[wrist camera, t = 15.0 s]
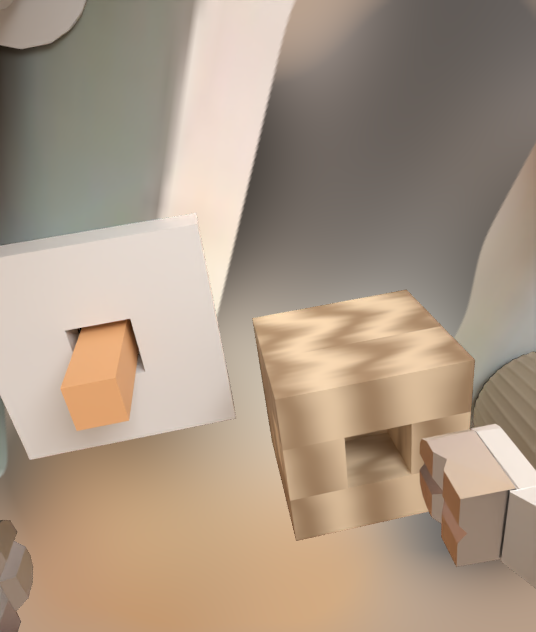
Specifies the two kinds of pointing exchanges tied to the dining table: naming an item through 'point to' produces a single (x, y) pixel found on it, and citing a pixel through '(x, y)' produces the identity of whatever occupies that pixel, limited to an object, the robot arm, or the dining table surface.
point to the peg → (101, 375)
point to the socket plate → (103, 307)
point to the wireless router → (37, 21)
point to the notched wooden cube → (358, 406)
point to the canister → (512, 404)
